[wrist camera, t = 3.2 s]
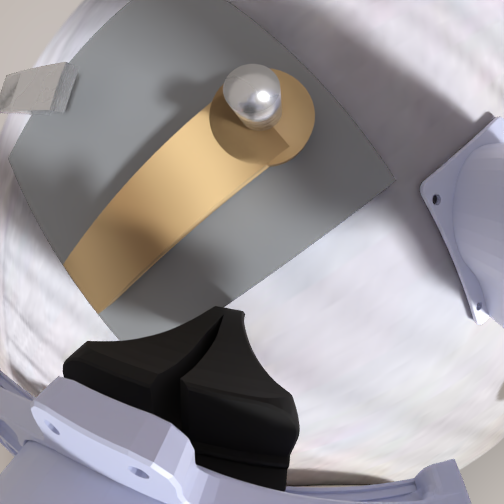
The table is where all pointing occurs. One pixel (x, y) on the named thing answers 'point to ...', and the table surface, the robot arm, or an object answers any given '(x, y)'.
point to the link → (183, 190)
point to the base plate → (160, 131)
